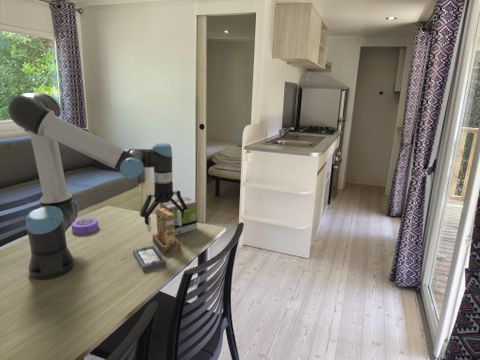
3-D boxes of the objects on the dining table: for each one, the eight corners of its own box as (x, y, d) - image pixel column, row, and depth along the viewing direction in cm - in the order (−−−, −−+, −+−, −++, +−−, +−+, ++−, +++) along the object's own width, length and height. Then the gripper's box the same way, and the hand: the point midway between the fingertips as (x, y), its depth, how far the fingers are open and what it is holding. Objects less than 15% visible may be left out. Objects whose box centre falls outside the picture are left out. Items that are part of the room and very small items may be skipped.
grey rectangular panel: (145, 266, 129) (145, 264, 129) (138, 254, 138) (137, 251, 138) (160, 262, 132) (160, 260, 132) (152, 251, 141) (152, 248, 141)
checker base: (143, 271, 127) (142, 265, 126) (133, 254, 139) (132, 248, 138) (166, 265, 131) (165, 259, 131) (154, 249, 144) (154, 243, 143)
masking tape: (74, 225, 166) (73, 218, 165) (99, 223, 169) (98, 216, 168) (70, 235, 155) (69, 228, 154) (97, 233, 158) (96, 225, 157)
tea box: (170, 238, 155) (169, 208, 151) (160, 230, 162) (159, 202, 158) (197, 229, 164) (197, 201, 160) (187, 223, 171) (186, 195, 167)
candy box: (175, 246, 145) (174, 213, 140) (166, 249, 142) (165, 216, 138) (165, 239, 151) (164, 207, 147) (157, 241, 148) (155, 209, 144)
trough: (162, 254, 139) (162, 247, 138) (152, 241, 150) (152, 234, 149) (180, 250, 143) (180, 243, 142) (169, 238, 154) (169, 231, 153)
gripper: (135, 187, 129) (138, 237, 135) (194, 180, 142) (194, 225, 148) (130, 182, 135) (133, 230, 141) (187, 175, 148) (188, 219, 154)
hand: (164, 228), depth 144 cm, fingers open, 13 cm apart
